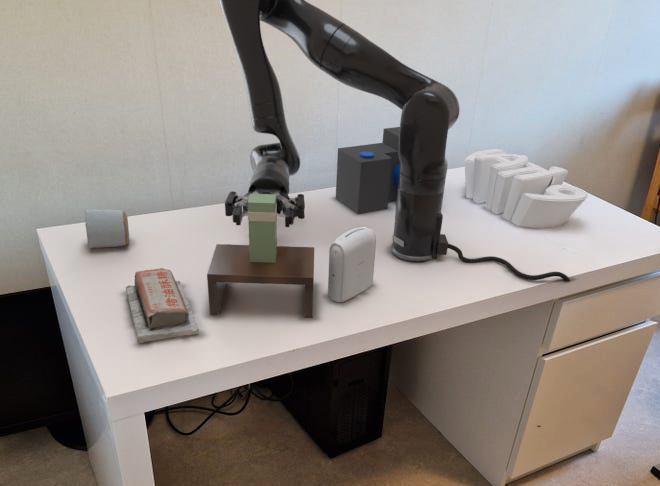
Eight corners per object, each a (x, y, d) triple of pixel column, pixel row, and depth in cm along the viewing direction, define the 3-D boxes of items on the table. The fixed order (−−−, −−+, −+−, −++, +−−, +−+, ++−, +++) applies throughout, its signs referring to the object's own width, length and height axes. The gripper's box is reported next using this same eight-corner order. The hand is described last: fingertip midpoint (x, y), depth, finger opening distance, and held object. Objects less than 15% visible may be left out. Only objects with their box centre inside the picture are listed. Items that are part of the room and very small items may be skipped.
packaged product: (122, 269, 118) (178, 262, 122) (125, 293, 121) (180, 286, 124) (134, 319, 105) (197, 310, 108) (138, 345, 108) (199, 335, 111)
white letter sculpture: (447, 186, 175) (452, 145, 169) (497, 179, 181) (504, 140, 175) (532, 238, 149) (543, 193, 143) (588, 228, 156) (600, 184, 150)
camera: (369, 222, 153) (374, 154, 144) (335, 198, 164) (338, 133, 155) (455, 206, 163) (465, 141, 154) (418, 185, 175) (425, 123, 166)
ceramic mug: (131, 251, 135) (126, 215, 131) (89, 254, 133) (82, 218, 129) (129, 231, 144) (124, 196, 140) (90, 233, 142) (84, 199, 138)
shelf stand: (313, 285, 127) (314, 247, 122) (312, 317, 117) (313, 277, 112) (218, 282, 126) (216, 243, 122) (210, 315, 116) (206, 274, 112)
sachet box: (277, 253, 120) (276, 194, 113) (275, 263, 116) (275, 203, 110) (251, 252, 119) (249, 193, 113) (249, 262, 116) (247, 202, 110)
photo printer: (341, 305, 121) (345, 243, 114) (324, 297, 123) (326, 235, 116) (375, 286, 128) (381, 226, 121) (358, 278, 130) (362, 219, 123)
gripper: (231, 167, 126) (220, 198, 112) (306, 170, 126) (304, 202, 113) (233, 205, 130) (222, 239, 117) (305, 207, 130) (303, 242, 117)
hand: (262, 221), depth 115 cm, fingers open, 8 cm apart
